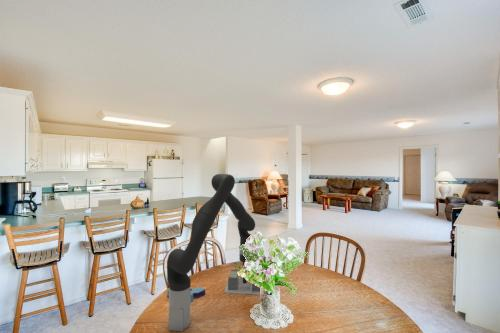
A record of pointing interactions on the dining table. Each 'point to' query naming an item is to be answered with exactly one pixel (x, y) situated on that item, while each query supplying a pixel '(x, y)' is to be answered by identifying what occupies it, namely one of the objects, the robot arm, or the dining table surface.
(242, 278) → the module
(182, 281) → the robot arm
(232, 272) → the rail board
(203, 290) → the pistol
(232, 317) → the dining table surface
